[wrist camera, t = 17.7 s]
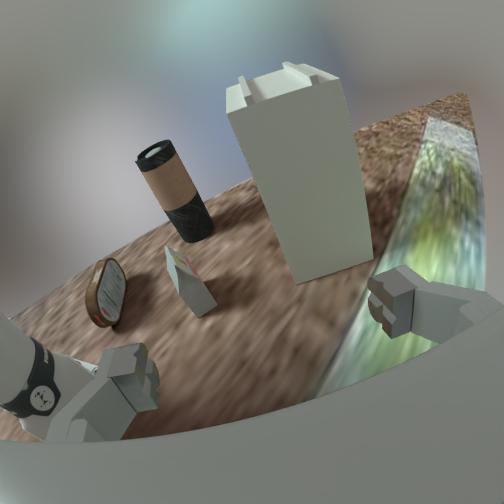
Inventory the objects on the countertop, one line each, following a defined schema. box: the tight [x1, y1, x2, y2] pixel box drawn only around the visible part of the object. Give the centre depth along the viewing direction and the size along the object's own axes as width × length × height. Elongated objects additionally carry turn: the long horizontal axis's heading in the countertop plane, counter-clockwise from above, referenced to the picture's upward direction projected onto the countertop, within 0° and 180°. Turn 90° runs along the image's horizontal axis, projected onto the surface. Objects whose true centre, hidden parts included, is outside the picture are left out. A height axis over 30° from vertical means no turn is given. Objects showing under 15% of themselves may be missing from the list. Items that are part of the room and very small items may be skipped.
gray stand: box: [226, 61, 374, 285], centre depth 41 cm, size 16×12×27 cm
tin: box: [85, 258, 127, 328], centre depth 53 cm, size 15×3×8 cm, turn 8°
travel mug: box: [135, 140, 213, 243], centre depth 58 cm, size 8×8×20 cm
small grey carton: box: [164, 245, 218, 318], centre depth 46 cm, size 4×7×10 cm, turn 29°
